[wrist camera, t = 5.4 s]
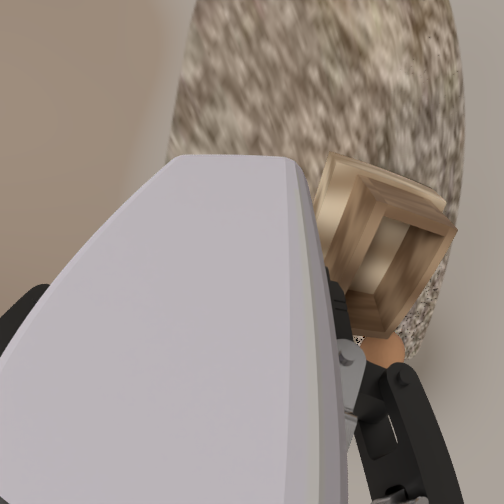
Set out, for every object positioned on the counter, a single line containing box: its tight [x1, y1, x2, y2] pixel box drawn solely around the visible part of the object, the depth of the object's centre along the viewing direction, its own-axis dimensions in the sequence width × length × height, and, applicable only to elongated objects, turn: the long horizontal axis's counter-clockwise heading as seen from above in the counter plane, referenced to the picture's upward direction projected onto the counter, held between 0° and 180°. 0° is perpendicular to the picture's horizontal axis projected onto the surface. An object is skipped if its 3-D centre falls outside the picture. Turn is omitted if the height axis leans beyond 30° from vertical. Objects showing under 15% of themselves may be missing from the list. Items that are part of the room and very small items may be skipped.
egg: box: [360, 332, 405, 369], centre depth 38 cm, size 7×7×8 cm
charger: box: [0, 155, 348, 504], centre depth 9 cm, size 5×9×15 cm, turn 179°
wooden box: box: [313, 151, 458, 339], centre depth 27 cm, size 15×13×10 cm
